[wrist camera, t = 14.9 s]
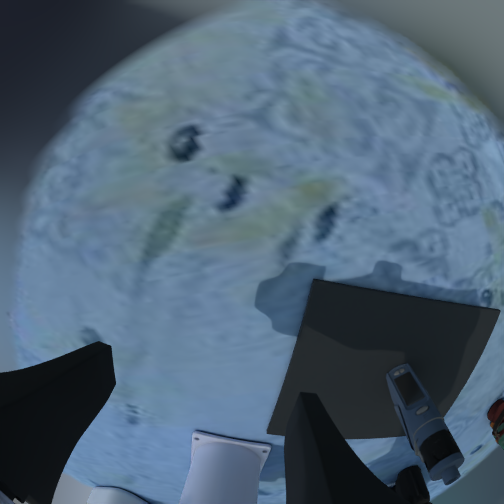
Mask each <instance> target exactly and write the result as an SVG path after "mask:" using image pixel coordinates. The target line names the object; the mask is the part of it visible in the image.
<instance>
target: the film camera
mask: <svg viewBox="0 0 504 504" xmlns="http://www.w3.org/2000/svg"><path fill="white" fill-rule="evenodd" d="M395 484H396V486H395V487H394V488H391V490H393V491H394V492H395V493H397V494H398V495H399V496H401V497H402V498H404V499H405V500H407V501H408V502H410V503H411V504H432V503H430V502H429V501H430V495H429V491H428V489H427V487H426V484H425V481H424V478H423V476H422V473H421V469H420V468H419V467H418V466H411V467H409V468H407V469H404V470H403V471H401V472H400V473H399V474H398V479H397V481H396V483H395Z"/></svg>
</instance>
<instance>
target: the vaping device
mask: <svg viewBox="0 0 504 504" xmlns="http://www.w3.org/2000/svg"><path fill="white" fill-rule="evenodd" d="M386 379H387V383H388V387H389V391H390V394H391V398H392V401H393V403H394V405H395V406H394V408H395V411H396V413H397V415H398V417H399V420H400V422H401V424H402V427H403V429H404V431H405V434H406V436H407V438H408V441H409V443H410V445H411V448H412V449H413V450H414V451H415V454H416V455H417V456H420V458H421V461H422V462H423V463H425V464H426V468H427V470H428V473H429V475H430V478H431V480H432V481H436V480H440V479H443V481H444V484H445V485H449V484H451V483H453V482H454V481H456V480H457V479H458V478H459V477H460V473H459V471H458V468H459V467H460V466H461V465H462V464H463V462H464V457H463V455H462V453H461V451H460V449H459V447H458V446H457V444H456V442H455V440H454V438H453V436H452V435H451V433H450V431H449V429H448V427H447V426H446V424H445V422H444V418H443V417H442V416H441V414H440V412H439V411H438V409H437V407H436V406H435V404H434V402H433V401H432V399H431V397H430V396H429V394H428V391H427V390H426V389H425V388H424V386H423V385H422V383H421V381H420V380H419V378H418V377H417V375H416V374H415V372H414V371H413V369H412V368H411V366H410V365H409V363H406V364H402V365H399V366H397V367H395V368H393V369H392V370H391V371H390V372H389V373H387V374H386ZM450 435H451V436H450ZM427 466H428V467H427Z"/></svg>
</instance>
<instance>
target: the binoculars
mask: <svg viewBox="0 0 504 504" xmlns="http://www.w3.org/2000/svg"><path fill="white" fill-rule="evenodd" d="M488 419H489V420H490V421H491V424H490V426H491V427H492V429H493V431H492V435H494V438H495V439H496V442H497V444H499V445H500V446H501V447H502V448H503V450H504V401H503V400H502V399H500V400H498V401H496V402H495V403H494V405H493V406H492V407H491V409H490V411H489V413H488Z"/></svg>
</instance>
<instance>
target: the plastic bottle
mask: <svg viewBox="0 0 504 504" xmlns="http://www.w3.org/2000/svg"><path fill="white" fill-rule="evenodd" d="M86 504H149V503H147V502H146V501H144V500H142V499H141V498H139V497H137V496H136V495H134V494H132V493H130V492H128V491H125V490H123V489H119V488H112V487H95V488H93V490H92V492H91V494H90V496H89V499H88V501H87V503H86Z"/></svg>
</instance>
